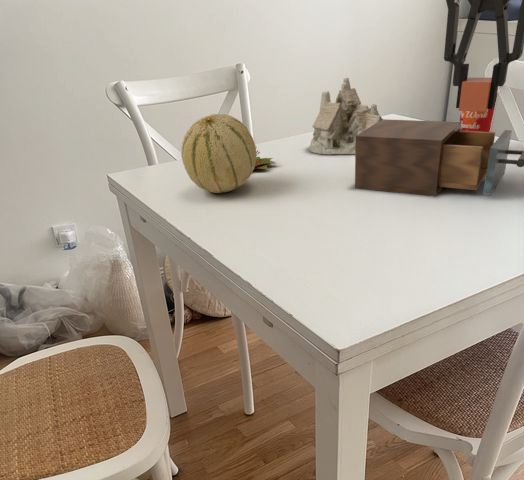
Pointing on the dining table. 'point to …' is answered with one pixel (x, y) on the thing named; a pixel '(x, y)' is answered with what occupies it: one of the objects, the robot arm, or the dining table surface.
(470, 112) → the paper cup
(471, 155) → the drawer
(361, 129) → the ceramic cottage
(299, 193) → the dining table surface
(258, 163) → the lily flower
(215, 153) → the cantaloupe
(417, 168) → the cabinet
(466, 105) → the block
